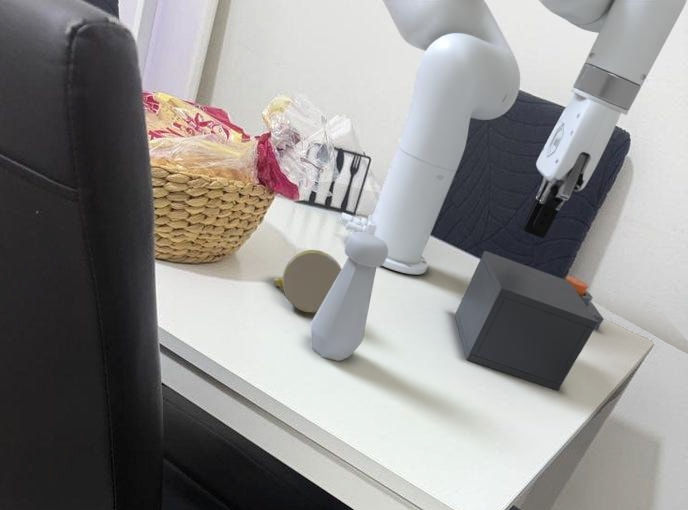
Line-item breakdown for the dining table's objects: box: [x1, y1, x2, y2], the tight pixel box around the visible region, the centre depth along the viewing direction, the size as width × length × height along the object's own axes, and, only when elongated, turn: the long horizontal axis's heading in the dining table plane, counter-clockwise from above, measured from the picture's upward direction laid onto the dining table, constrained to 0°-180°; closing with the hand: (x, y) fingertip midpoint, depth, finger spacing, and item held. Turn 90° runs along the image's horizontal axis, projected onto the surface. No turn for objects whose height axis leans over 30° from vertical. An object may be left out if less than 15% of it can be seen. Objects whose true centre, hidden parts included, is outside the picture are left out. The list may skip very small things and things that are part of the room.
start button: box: [564, 275, 589, 296], centre depth 120 cm, size 4×4×2 cm
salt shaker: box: [310, 232, 388, 362], centre depth 74 cm, size 6×6×13 cm
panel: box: [578, 290, 604, 331], centre depth 121 cm, size 11×9×4 cm
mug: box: [273, 249, 342, 314], centre depth 85 cm, size 8×10×10 cm
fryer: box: [454, 250, 598, 391], centre depth 93 cm, size 15×13×10 cm
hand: (532, 232), depth 98 cm, fingers closed
